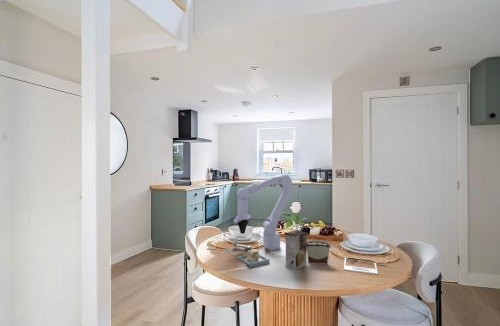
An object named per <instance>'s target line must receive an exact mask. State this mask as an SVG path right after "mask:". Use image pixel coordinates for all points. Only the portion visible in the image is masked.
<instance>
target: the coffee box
mask: <svg viewBox="0 0 500 326" xmlns="http://www.w3.org/2000/svg"><path fill="white" fill-rule="evenodd" d="M307 242H308V241H307V232H305V231H302V230H293V231H290V232H286V233H285V267H287V268H289V269H292V270H295V271H296V270H298V269H301V268H303V267H305V266H306V265H307V263H308V256H307V244H306V243H307Z"/></svg>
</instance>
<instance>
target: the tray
mask: <svg viewBox="0 0 500 326" xmlns="http://www.w3.org/2000/svg"><path fill="white" fill-rule="evenodd" d="M259 258H260V259H261V260H257V261H254V262H252V261H249V260H246V259H247V254H242V255H237V259H238V260H239V261H241V262H242V263H245V266H246V267H248V268H249V269H251V268H255V267H259V266H264V265H268V264H270V262H271V261H270V258H268V257H265V256H264V255H261V254H260V253H259Z"/></svg>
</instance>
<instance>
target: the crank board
mask: <svg viewBox="0 0 500 326" xmlns="http://www.w3.org/2000/svg"><path fill="white" fill-rule="evenodd" d="M252 249H254V248H253V247H252V248H251V249H246V248H241V247H236V246H232V247H226V248H222V250H223V251H224V252H226V253H228V254H230V255H231V256H241V255H246V254H247V253H248V250H252Z"/></svg>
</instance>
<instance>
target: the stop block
mask: <svg viewBox="0 0 500 326" xmlns="http://www.w3.org/2000/svg"><path fill="white" fill-rule="evenodd" d="M259 252H260V251H259V250H257V249H254V248H253V249H252V250H248V253H246V255H247V258H246V259H247V260H246V261H248V262H251V263H252V262H256V261H260V259H259V258H260V257H259V254H260V253H259Z"/></svg>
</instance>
